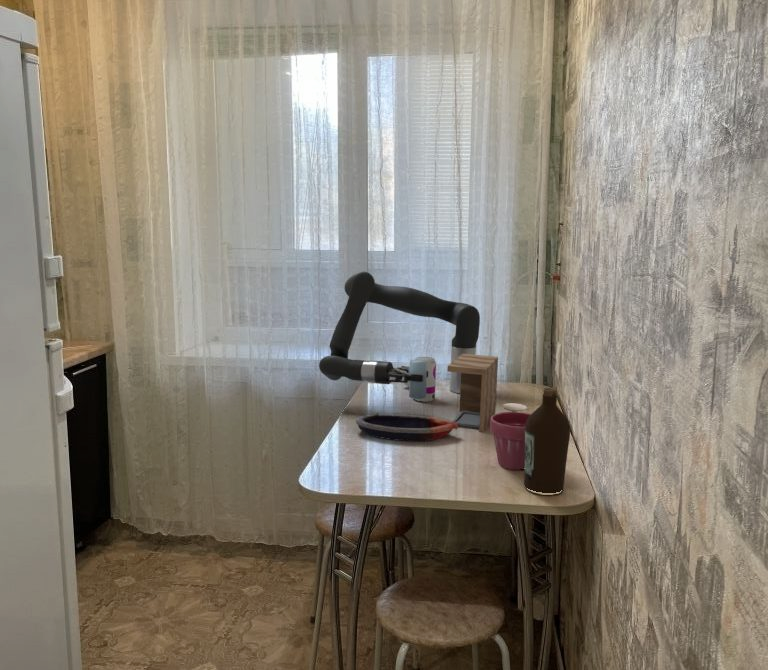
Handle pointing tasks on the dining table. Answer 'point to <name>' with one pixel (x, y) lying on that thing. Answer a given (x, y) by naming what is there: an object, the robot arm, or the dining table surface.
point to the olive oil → (546, 446)
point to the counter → (477, 385)
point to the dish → (405, 426)
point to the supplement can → (429, 379)
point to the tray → (468, 419)
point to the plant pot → (509, 438)
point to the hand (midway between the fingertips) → (425, 376)
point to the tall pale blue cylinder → (418, 388)
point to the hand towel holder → (514, 407)
